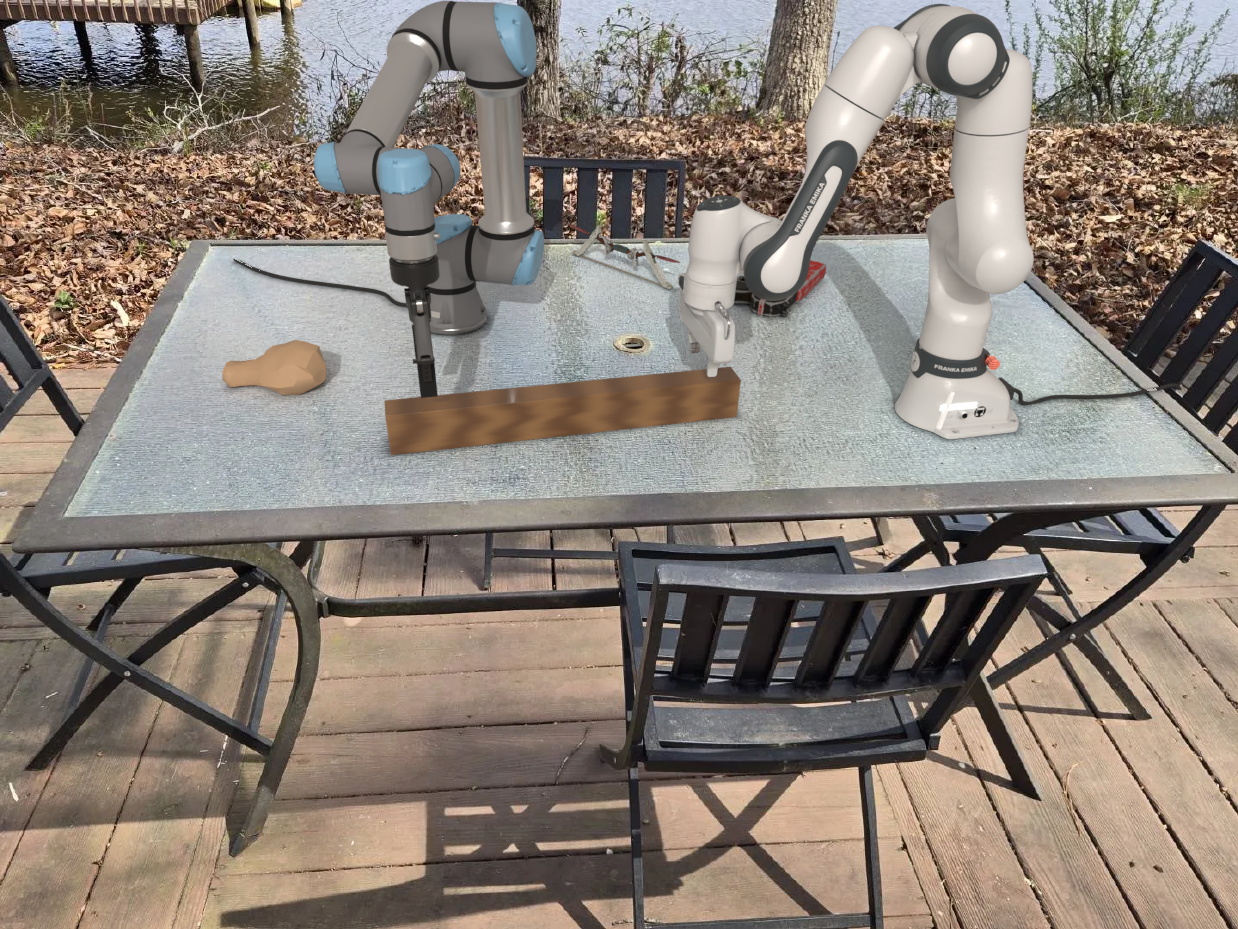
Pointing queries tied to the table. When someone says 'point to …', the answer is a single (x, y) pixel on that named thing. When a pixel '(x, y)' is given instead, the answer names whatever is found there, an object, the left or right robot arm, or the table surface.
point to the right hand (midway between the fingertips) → (702, 362)
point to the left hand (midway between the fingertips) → (426, 377)
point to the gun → (780, 306)
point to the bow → (631, 253)
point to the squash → (280, 369)
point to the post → (559, 410)
